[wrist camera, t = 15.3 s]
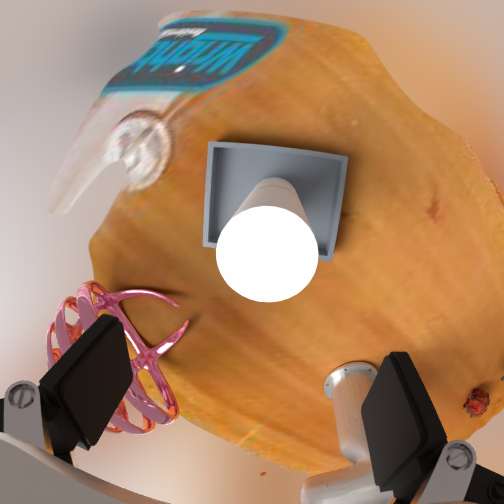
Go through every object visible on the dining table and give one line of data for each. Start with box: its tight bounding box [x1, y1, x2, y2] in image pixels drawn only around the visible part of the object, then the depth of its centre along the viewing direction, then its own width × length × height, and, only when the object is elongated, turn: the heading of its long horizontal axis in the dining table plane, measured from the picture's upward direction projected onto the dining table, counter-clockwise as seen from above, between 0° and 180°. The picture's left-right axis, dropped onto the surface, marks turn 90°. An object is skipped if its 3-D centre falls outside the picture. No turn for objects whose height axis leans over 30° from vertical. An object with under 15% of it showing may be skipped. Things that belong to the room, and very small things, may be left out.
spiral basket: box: [46, 280, 189, 435], centre depth 42 cm, size 28×28×27 cm
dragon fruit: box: [463, 389, 490, 418], centre depth 53 cm, size 8×8×12 cm
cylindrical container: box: [216, 177, 318, 302], centre depth 31 cm, size 7×7×25 cm
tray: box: [203, 141, 348, 261], centre depth 42 cm, size 20×16×4 cm
